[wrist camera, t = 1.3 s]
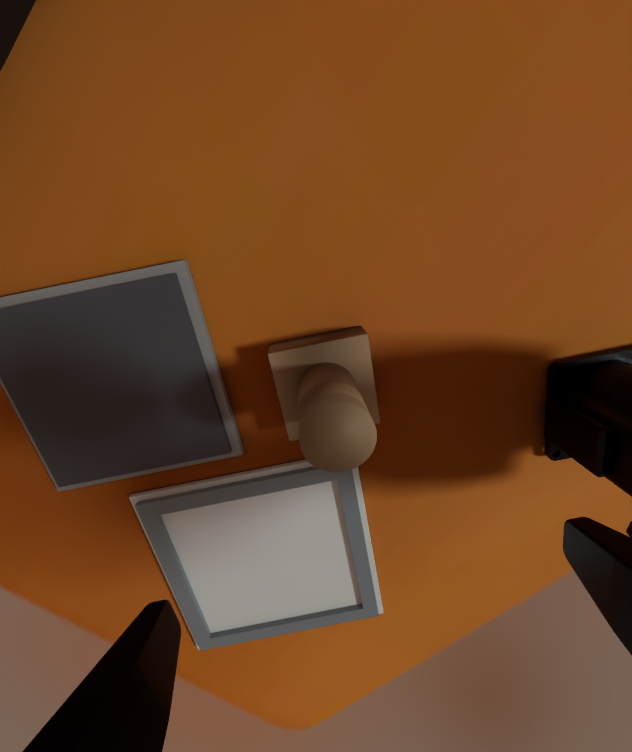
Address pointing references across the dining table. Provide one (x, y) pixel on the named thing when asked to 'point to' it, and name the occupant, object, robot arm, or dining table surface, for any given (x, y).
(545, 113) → the dining table surface
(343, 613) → the print sheet
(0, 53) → the diary
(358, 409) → the stamp
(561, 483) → the dining table surface
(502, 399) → the dining table surface
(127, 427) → the ink pad
